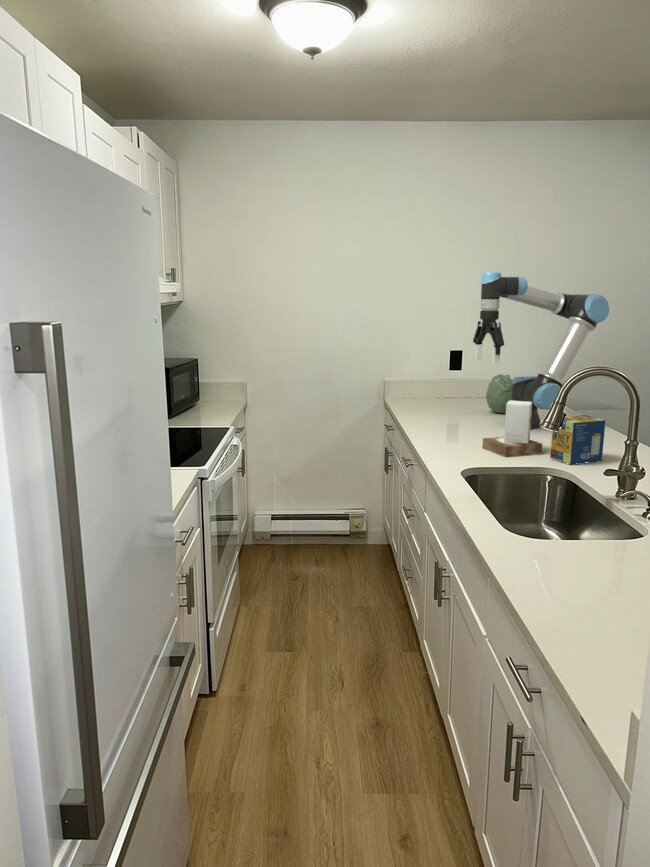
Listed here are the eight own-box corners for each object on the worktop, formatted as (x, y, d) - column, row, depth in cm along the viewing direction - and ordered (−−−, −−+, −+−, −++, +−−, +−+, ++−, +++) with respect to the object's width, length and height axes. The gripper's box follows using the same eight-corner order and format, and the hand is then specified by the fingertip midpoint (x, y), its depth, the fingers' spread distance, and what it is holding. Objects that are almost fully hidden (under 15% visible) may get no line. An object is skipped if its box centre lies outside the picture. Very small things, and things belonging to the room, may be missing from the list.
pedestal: (517, 445, 274) (517, 434, 273) (541, 454, 259) (542, 443, 258) (482, 448, 269) (482, 437, 268) (505, 457, 254) (505, 445, 253)
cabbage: (511, 410, 357) (513, 372, 353) (520, 416, 339) (523, 376, 335) (481, 410, 357) (483, 372, 353) (489, 416, 339) (491, 376, 335)
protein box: (549, 459, 251) (552, 417, 248) (581, 455, 257) (584, 414, 254) (569, 465, 242) (573, 422, 239) (602, 461, 248) (606, 419, 245)
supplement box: (528, 444, 256) (530, 404, 253) (503, 442, 259) (505, 403, 256) (530, 439, 264) (532, 401, 261) (506, 437, 267) (508, 399, 264)
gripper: (466, 309, 293) (464, 358, 298) (498, 310, 270) (495, 364, 274) (481, 309, 296) (479, 358, 300) (514, 310, 272) (511, 363, 277)
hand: (487, 361), depth 287 cm, fingers open, 13 cm apart
